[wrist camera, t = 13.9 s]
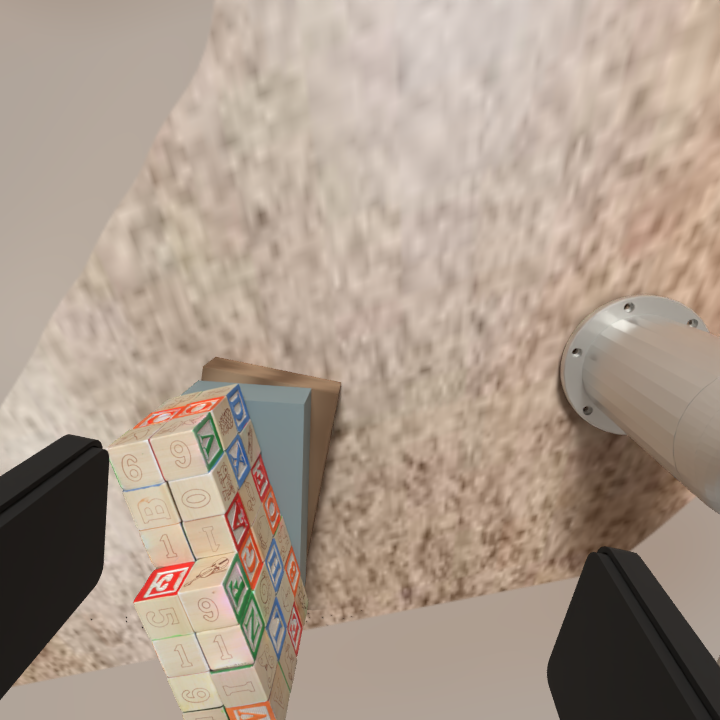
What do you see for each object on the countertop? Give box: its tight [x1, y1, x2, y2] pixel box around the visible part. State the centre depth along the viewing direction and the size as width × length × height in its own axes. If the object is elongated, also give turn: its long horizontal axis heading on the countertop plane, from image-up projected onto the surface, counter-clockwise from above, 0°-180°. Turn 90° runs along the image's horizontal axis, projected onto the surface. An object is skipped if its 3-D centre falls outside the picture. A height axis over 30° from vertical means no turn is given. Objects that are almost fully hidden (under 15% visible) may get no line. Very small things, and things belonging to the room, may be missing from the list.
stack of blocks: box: [106, 384, 308, 720], centre depth 36 cm, size 21×6×12 cm, turn 14°
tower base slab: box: [201, 357, 341, 561], centre depth 48 cm, size 12×22×4 cm, turn 169°
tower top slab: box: [181, 380, 311, 587], centre depth 44 cm, size 10×20×4 cm, turn 177°
